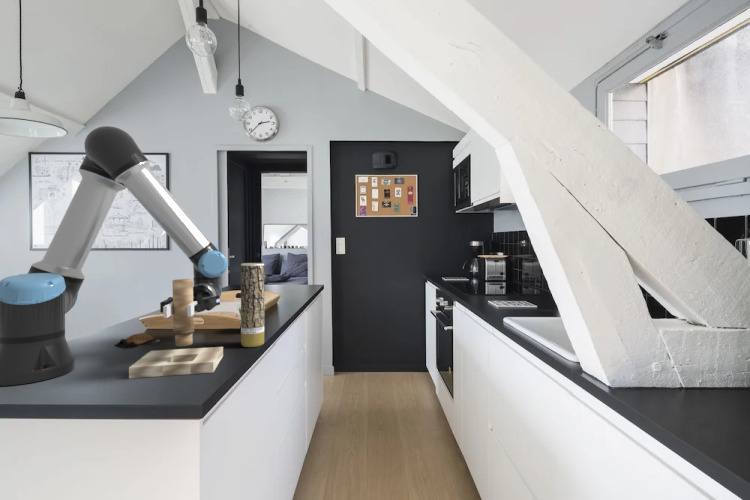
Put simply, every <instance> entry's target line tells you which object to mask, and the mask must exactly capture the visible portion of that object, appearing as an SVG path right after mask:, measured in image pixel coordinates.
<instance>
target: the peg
mask: <svg viewBox="0 0 750 500" xmlns="http://www.w3.org/2000/svg"><path fill="white" fill-rule="evenodd" d="M193 287H194V278H181V279H173V280H172V297H173V315H172V317H173V318H172V319H173V320H172V321H173V322H172V323H173V330H172V334H173V335H175V336H174V338H175V339H174V340H175V342H174V343H175V346H176V347H188V346H191V345H193V343H194V340H193V339H194V338H193V337H194V336H193V334H194V332H195V318H194V315H195V314H194V315H193V316H191V317H188V313H187V305H189V304H190V303H192V302H193Z"/></svg>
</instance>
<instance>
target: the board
mask: <svg viewBox="0 0 750 500" xmlns="http://www.w3.org/2000/svg"><path fill="white" fill-rule="evenodd" d="M223 357H224V346H215V347H211V346H210V347H197V348H195V347H194V348H193V347H192V348H178V349H175V348H174V349H162V350H161V349H160V350H157V349H156V350H150V351H149V352H148V353H145V355H144V356H142V357H141V358H139V359H138V360H136V362H134V363H133V364H131V365H130V366H129V367H128V379H138V378H139V379H140V378H154V377H169V376H183V375H185V376H186V375H195V374H209V373H210V374H211V373H214V372H215V371H216V369H217V367H218V366H219V363H220V362H221V360H222V359H223Z"/></svg>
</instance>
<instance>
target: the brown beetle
mask: <svg viewBox="0 0 750 500" xmlns="http://www.w3.org/2000/svg"><path fill="white" fill-rule="evenodd" d="M158 342H161V340H160V339H156V338H155V337H153V336H152V335H150V334H149V333H145V332H140V333H135V334H132V335H129V336H128V337H127V338H126V339H124V338H122V339H120V340H119V342H117V344H114V347H116V348H120V349H122V350H123V349H126V350H127V349H128V350H129V349H134V348H140V347H143V346H147V345H152V344H155V343H158Z"/></svg>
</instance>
